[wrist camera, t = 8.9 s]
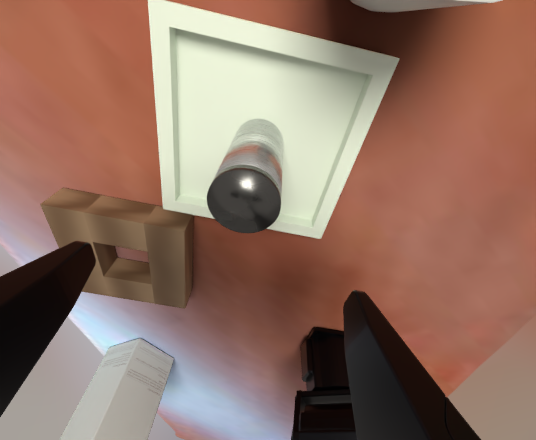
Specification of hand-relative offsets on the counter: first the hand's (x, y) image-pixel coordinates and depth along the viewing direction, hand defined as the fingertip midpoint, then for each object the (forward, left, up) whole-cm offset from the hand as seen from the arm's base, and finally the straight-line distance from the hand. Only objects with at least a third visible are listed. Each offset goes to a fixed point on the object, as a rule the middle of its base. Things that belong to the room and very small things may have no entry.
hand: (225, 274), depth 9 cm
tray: (0, 0, -12) cm, 12 cm away
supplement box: (+12, +37, -12) cm, 40 cm away
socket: (+10, +13, -12) cm, 20 cm away
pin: (0, 0, -11) cm, 11 cm away
